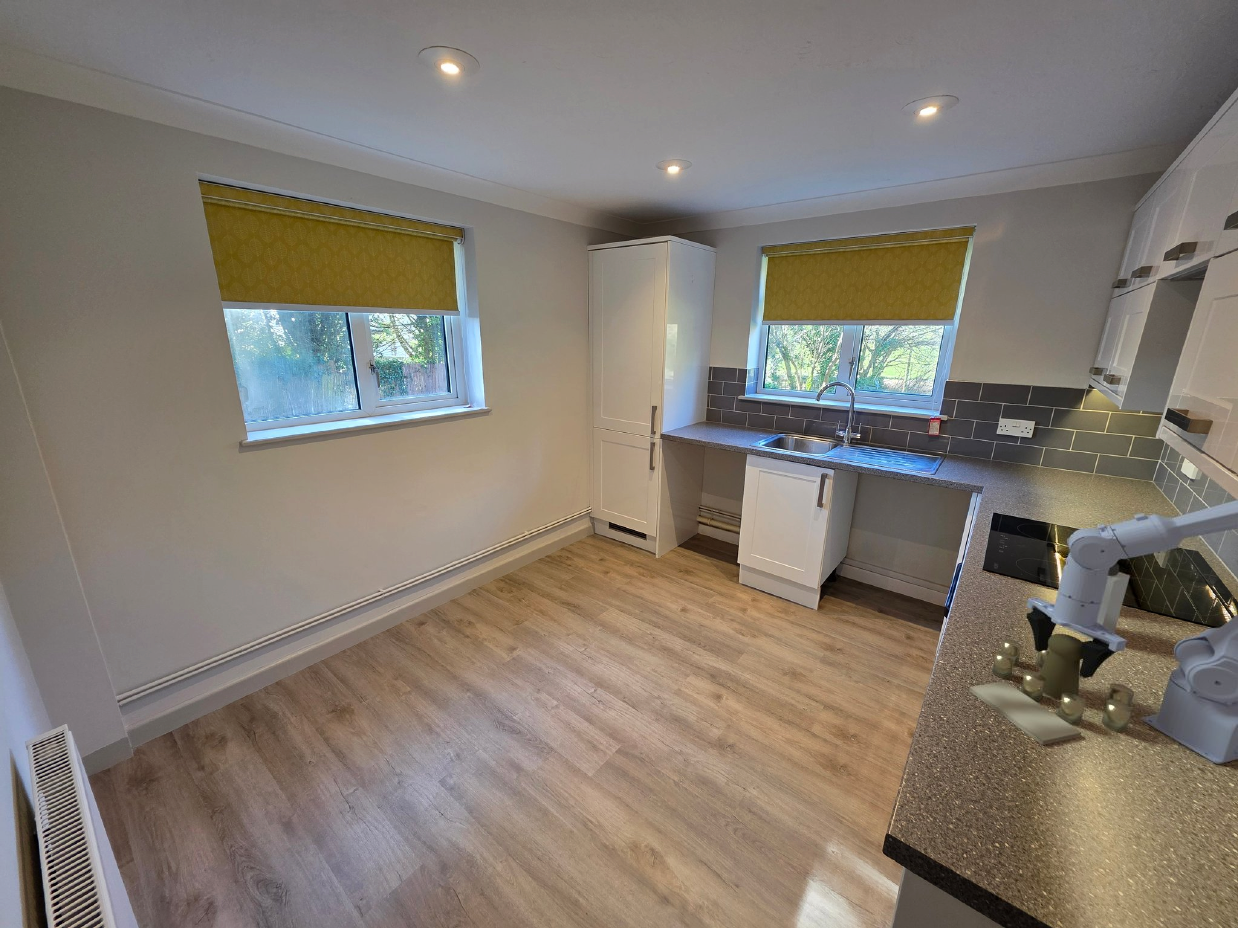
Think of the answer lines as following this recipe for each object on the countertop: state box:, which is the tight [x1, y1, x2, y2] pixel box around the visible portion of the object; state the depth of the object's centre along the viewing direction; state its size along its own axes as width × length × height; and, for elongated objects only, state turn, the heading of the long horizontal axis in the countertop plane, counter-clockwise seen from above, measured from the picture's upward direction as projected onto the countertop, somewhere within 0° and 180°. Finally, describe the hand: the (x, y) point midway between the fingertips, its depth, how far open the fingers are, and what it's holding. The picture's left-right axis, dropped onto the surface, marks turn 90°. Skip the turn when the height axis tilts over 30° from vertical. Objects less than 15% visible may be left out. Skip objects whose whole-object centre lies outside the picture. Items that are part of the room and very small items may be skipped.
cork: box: [1038, 633, 1083, 701], centre depth 89 cm, size 6×6×11 cm
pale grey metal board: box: [968, 680, 1082, 746], centre depth 85 cm, size 13×8×1 cm, turn 13°
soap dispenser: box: [1061, 563, 1131, 640], centre depth 108 cm, size 6×9×22 cm
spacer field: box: [991, 638, 1135, 734], centre depth 90 cm, size 21×14×4 cm
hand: (1062, 662), depth 89 cm, fingers open, 7 cm apart
